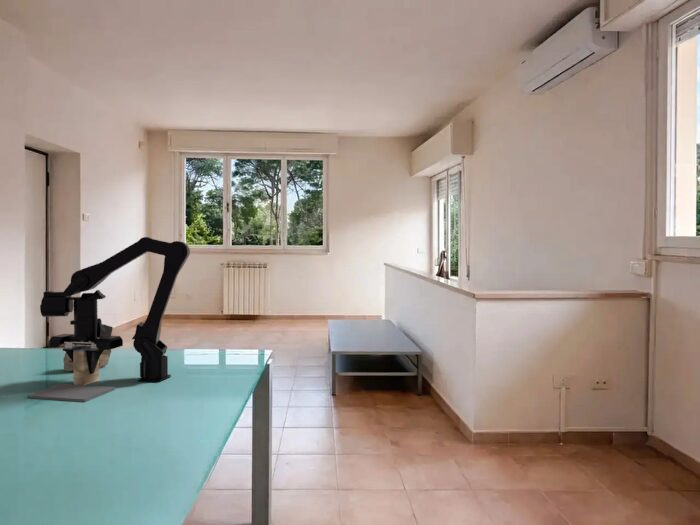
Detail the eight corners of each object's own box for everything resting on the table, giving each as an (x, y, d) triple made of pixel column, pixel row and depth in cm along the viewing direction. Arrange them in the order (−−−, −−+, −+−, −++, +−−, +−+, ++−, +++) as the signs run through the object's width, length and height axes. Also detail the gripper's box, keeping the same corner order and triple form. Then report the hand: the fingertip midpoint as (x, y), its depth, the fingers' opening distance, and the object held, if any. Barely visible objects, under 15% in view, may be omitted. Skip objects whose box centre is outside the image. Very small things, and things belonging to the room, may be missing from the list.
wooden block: (99, 380, 142) (98, 346, 142) (83, 385, 136) (83, 350, 136) (89, 379, 143) (89, 345, 142) (73, 385, 137) (73, 350, 137)
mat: (115, 389, 133) (115, 387, 133) (84, 401, 122) (84, 399, 122) (61, 386, 136) (61, 383, 136) (27, 397, 125) (27, 395, 125)
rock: (57, 370, 148) (70, 336, 150) (60, 368, 154) (72, 336, 156) (102, 380, 152) (113, 346, 154) (103, 378, 158) (114, 346, 160)
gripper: (134, 313, 145) (135, 368, 145) (77, 311, 149) (77, 365, 149) (108, 318, 134) (109, 377, 134) (47, 316, 138) (48, 374, 138)
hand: (86, 373), depth 139 cm, fingers closed on wooden block, 3 cm apart
